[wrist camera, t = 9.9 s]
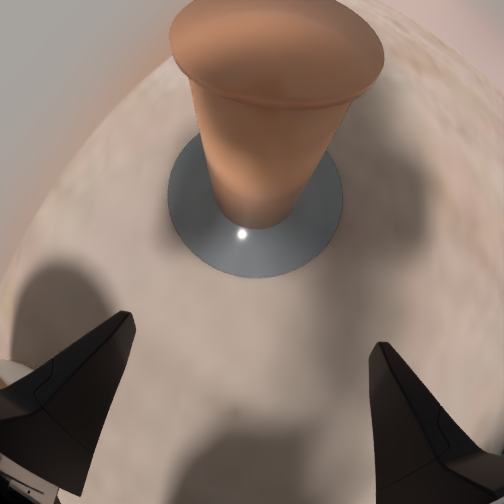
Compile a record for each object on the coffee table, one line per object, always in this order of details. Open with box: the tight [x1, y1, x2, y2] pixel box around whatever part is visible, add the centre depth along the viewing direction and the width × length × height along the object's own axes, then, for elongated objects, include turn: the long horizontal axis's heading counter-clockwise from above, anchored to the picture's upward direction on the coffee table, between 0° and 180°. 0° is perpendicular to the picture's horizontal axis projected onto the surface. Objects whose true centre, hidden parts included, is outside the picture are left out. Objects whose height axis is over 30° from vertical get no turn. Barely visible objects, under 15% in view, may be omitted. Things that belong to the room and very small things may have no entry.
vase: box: [169, 0, 384, 229], centre depth 12 cm, size 6×6×13 cm
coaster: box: [168, 133, 343, 278], centre depth 19 cm, size 12×12×1 cm
